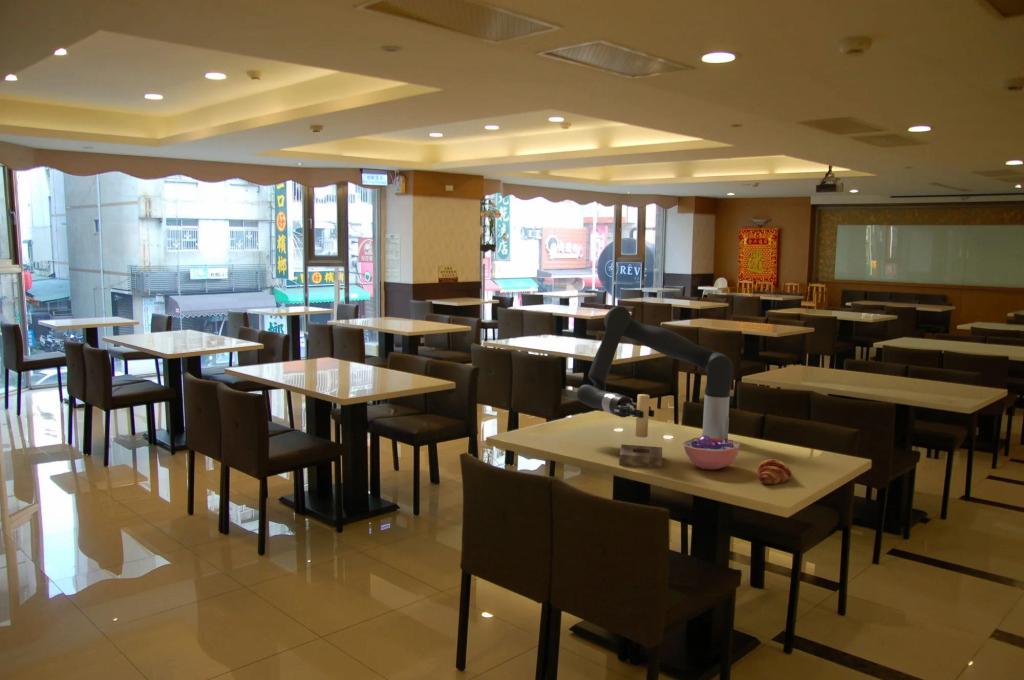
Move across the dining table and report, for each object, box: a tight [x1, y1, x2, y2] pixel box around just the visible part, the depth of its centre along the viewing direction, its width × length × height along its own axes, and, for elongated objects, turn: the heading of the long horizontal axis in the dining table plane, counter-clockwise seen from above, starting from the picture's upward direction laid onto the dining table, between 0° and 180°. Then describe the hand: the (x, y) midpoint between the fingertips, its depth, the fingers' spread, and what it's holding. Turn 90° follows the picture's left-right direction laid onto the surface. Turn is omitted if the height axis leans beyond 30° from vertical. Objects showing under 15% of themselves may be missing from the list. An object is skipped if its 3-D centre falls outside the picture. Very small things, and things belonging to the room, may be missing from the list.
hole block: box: [618, 444, 663, 469], centre depth 259 cm, size 14×14×4 cm
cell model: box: [682, 435, 741, 471], centre depth 253 cm, size 17×20×11 cm
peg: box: [635, 393, 650, 438], centre depth 258 cm, size 4×4×14 cm
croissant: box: [757, 458, 793, 485], centre depth 242 cm, size 21×10×8 cm, turn 145°
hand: (647, 414), depth 255 cm, fingers closed on peg, 4 cm apart
